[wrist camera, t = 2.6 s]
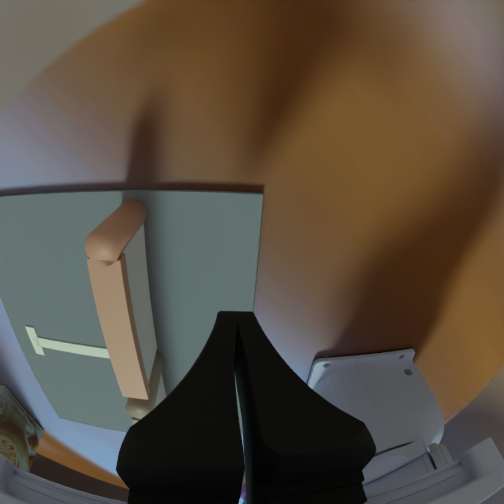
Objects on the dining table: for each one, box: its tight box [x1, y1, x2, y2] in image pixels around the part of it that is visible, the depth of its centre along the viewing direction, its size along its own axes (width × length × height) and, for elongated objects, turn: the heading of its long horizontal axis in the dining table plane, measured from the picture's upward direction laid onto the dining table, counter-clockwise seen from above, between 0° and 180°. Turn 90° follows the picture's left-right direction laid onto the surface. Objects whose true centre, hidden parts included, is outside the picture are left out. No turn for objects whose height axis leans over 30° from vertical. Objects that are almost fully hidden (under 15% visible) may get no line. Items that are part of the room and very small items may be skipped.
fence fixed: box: [125, 351, 166, 424], centre depth 20 cm, size 2×12×5 cm, turn 176°
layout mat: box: [0, 189, 263, 432], centre depth 20 cm, size 20×24×1 cm
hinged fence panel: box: [85, 199, 157, 400], centre depth 15 cm, size 10×2×5 cm, turn 176°
